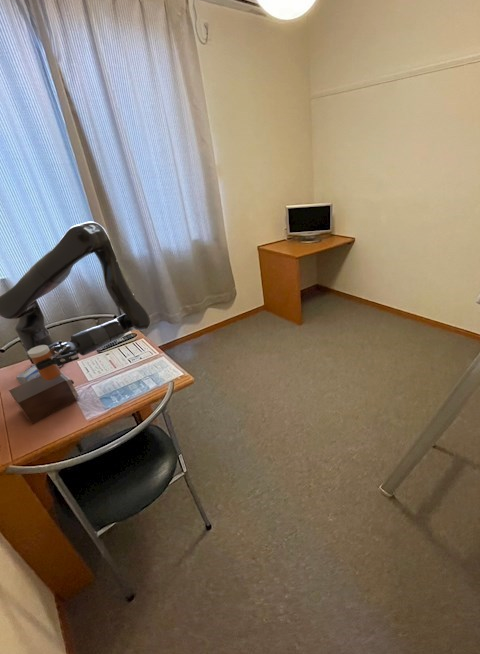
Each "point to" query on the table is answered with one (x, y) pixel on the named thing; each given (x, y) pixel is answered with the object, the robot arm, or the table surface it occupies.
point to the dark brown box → (42, 397)
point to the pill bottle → (39, 355)
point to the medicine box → (28, 375)
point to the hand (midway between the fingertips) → (34, 364)
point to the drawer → (70, 384)
